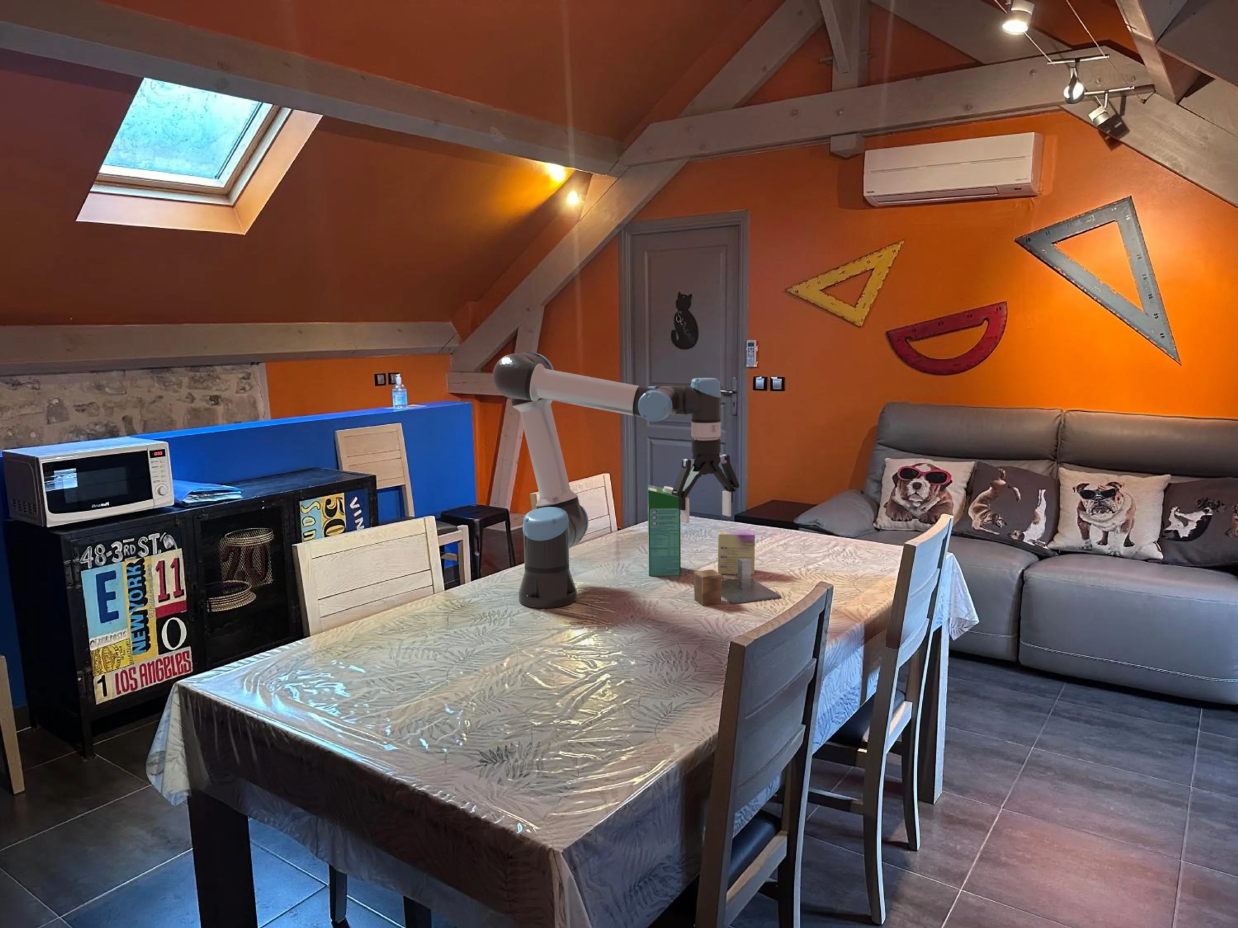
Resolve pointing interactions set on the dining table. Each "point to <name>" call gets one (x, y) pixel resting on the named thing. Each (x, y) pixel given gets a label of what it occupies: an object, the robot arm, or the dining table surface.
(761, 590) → the grey plate
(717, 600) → the brown rectangular block
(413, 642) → the dining table surface
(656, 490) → the milk carton
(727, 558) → the box
